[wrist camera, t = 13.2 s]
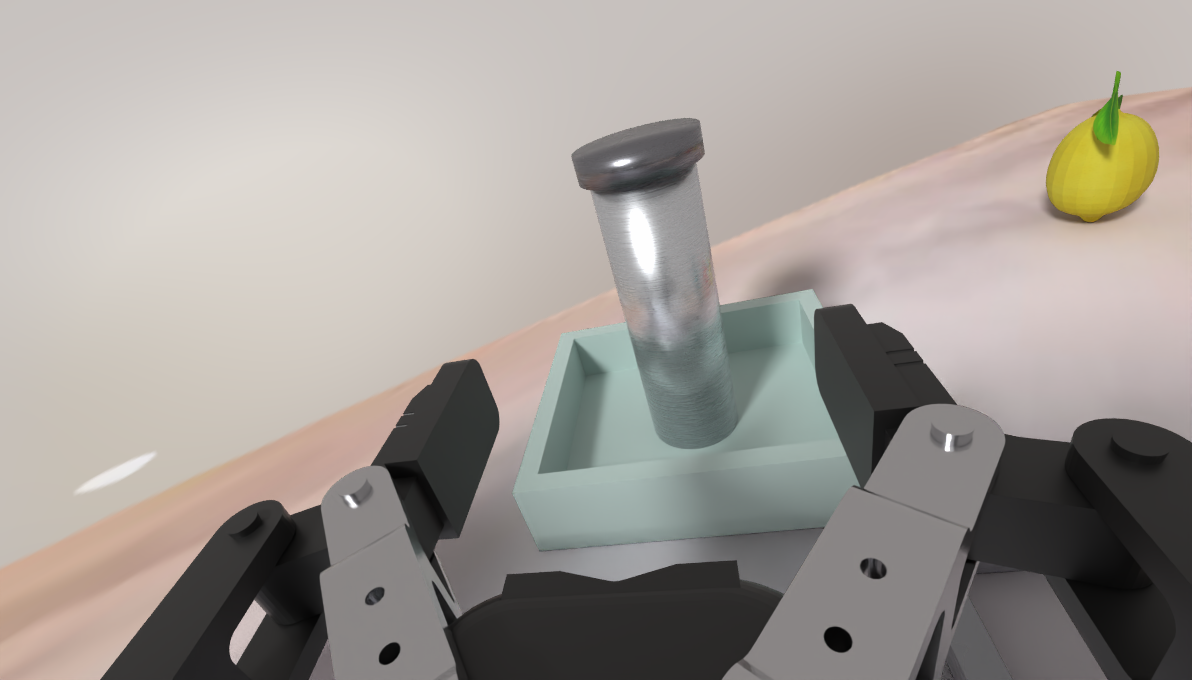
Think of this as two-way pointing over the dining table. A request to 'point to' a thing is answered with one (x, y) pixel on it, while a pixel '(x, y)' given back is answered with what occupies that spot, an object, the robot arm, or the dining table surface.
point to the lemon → (1103, 162)
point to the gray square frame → (976, 642)
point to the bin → (683, 476)
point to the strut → (664, 274)
